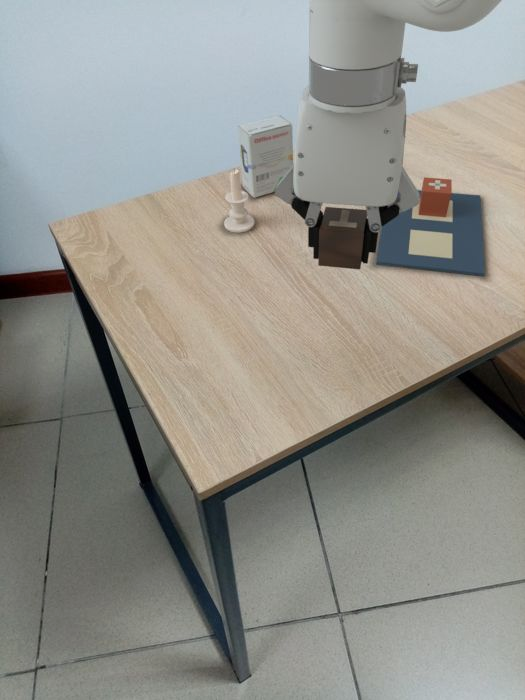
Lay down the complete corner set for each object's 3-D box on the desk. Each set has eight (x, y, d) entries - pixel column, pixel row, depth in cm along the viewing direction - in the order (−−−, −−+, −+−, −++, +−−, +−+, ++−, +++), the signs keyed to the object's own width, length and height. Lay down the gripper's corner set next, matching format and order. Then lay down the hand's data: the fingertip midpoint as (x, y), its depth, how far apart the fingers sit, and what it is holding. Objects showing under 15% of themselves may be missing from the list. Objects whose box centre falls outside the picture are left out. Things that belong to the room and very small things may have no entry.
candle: (219, 229, 91) (212, 173, 83) (232, 213, 94) (227, 158, 86) (246, 235, 89) (241, 179, 82) (259, 219, 92) (256, 163, 85)
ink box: (253, 199, 97) (249, 136, 88) (241, 186, 100) (236, 124, 92) (294, 186, 99) (294, 123, 91) (281, 174, 102) (280, 112, 94)
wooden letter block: (364, 244, 59) (367, 208, 56) (360, 269, 56) (363, 233, 53) (324, 241, 60) (325, 205, 57) (318, 265, 57) (319, 229, 54)
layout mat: (479, 198, 94) (480, 194, 93) (483, 276, 79) (485, 272, 79) (387, 190, 97) (388, 187, 96) (375, 264, 82) (376, 260, 82)
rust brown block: (446, 203, 92) (451, 178, 88) (445, 217, 89) (451, 192, 86) (419, 200, 93) (424, 176, 89) (418, 214, 90) (423, 190, 86)
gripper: (456, 63, 46) (422, 240, 59) (265, 60, 49) (273, 228, 62) (458, 99, 41) (420, 283, 54) (245, 92, 44) (259, 267, 57)
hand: (341, 252), depth 58 cm, fingers closed on wooden letter block, 4 cm apart
